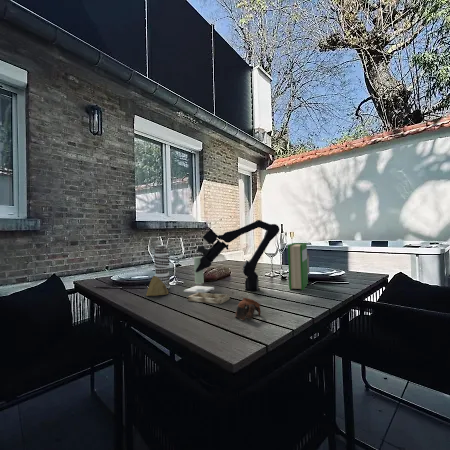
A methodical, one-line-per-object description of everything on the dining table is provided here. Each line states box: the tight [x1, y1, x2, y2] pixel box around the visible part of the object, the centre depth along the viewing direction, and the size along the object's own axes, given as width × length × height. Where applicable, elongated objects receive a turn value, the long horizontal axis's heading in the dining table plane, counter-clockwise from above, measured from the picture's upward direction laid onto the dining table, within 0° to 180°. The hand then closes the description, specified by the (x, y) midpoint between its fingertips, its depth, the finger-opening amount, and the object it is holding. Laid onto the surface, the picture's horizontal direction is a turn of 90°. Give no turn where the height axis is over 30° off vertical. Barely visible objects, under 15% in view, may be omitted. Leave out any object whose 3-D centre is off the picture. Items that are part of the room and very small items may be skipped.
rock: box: [145, 275, 169, 297], centre depth 153 cm, size 11×9×10 cm
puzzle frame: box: [187, 292, 231, 305], centre depth 137 cm, size 17×9×2 cm, turn 64°
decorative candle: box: [153, 244, 171, 289], centre depth 171 cm, size 9×9×25 cm
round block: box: [193, 256, 205, 285], centre depth 158 cm, size 5×5×14 cm
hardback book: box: [287, 242, 309, 291], centre depth 162 cm, size 18×7×24 cm, turn 157°
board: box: [183, 285, 215, 294], centre depth 158 cm, size 12×12×2 cm
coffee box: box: [307, 252, 310, 274], centre depth 185 cm, size 9×6×16 cm
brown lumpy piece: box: [235, 297, 262, 321], centre depth 111 cm, size 12×10×8 cm
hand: (196, 271), depth 158 cm, fingers closed on round block, 5 cm apart
